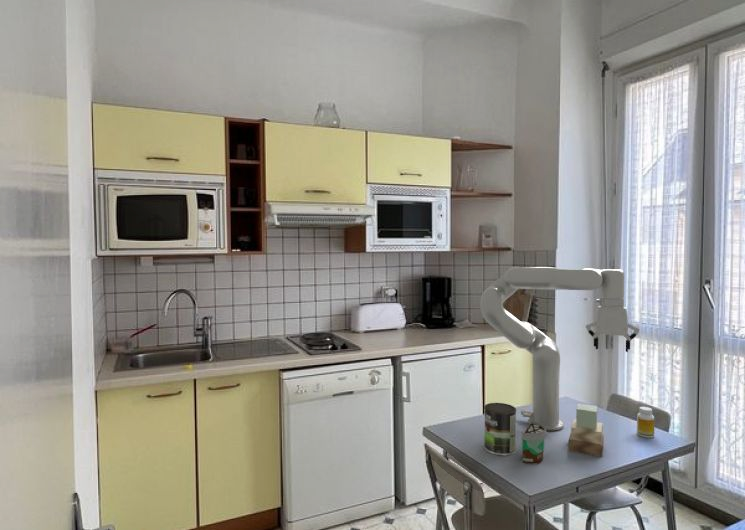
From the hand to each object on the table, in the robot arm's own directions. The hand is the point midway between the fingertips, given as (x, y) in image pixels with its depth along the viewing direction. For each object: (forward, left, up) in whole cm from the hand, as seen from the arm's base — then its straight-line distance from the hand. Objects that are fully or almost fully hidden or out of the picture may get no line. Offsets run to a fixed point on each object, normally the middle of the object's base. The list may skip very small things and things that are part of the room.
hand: (611, 349), depth 166 cm
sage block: (-7, -19, -23) cm, 30 cm away
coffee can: (-32, -34, -31) cm, 56 cm away
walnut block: (-7, -19, -31) cm, 37 cm away
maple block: (-7, -19, -27) cm, 33 cm away
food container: (-20, -36, -31) cm, 51 cm away
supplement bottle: (+11, +3, -31) cm, 33 cm away
